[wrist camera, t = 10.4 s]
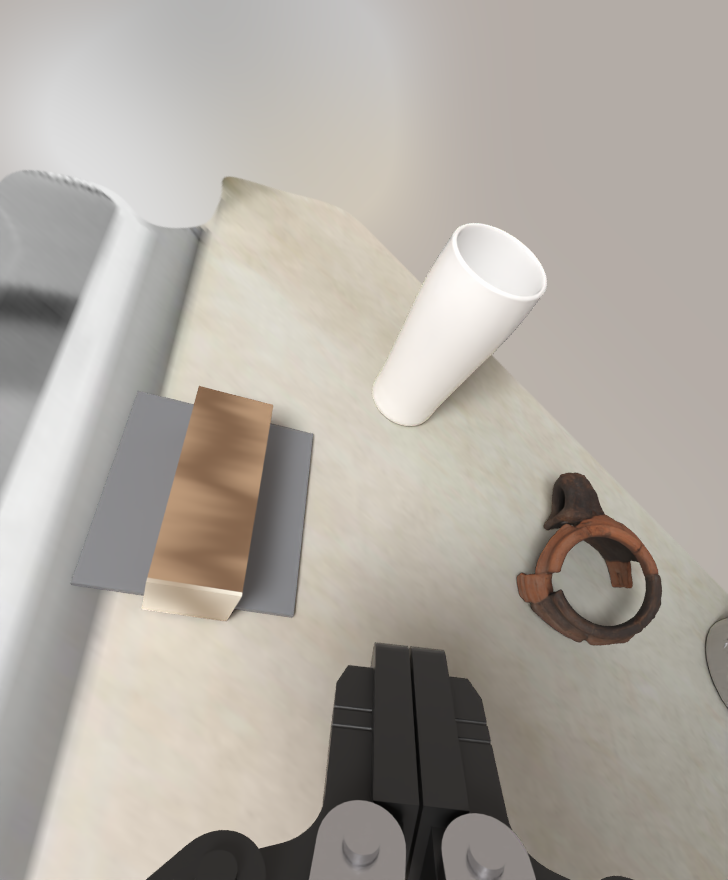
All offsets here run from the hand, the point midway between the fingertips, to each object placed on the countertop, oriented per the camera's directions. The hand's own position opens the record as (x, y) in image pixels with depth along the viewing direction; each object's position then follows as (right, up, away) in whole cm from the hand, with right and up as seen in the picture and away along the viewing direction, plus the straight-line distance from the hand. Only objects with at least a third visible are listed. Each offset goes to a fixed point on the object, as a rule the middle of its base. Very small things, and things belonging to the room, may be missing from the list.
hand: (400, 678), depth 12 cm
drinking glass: (+2, +8, +33) cm, 34 cm away
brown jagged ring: (+14, -5, +30) cm, 33 cm away
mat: (-10, +1, +22) cm, 25 cm away
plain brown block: (-10, -3, +16) cm, 19 cm away
